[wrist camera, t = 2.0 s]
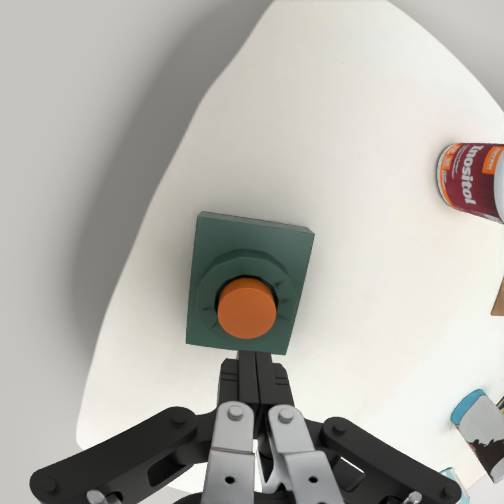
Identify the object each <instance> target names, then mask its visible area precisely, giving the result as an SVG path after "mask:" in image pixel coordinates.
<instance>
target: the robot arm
mask: <svg viewBox="0 0 504 504" xmlns="http://www.w3.org/2000/svg"><path fill="white" fill-rule="evenodd" d="M253 439H258V447H257V450H256V457H257V462H258V468H259V473H260V479H261V484H262V493H260V492H256V491H254V477H255V454H254V453H253ZM341 457H343V458H344V459H346V460H347V461H349V462H350V463H352V464H353V465H355V466H356V467H358V468H360V469H361V470H362V471H363V472H364V473H362V472H361V471H359V470H358V469H356V468H355V467H353V466H351V465H350V464H348V463H347V462H346V461H344V460H343V459H341ZM205 462H208V464H207V470H206V476H205V481H204V487H203V492H199V493H194V494H191V495H188V496H186V497H183V498H181V499H179V500H178V501H176V502H175V503H173V504H456V503H457V502H458V501H459V500H460V499H461V496H462V490H461V487H460V485H459V484H458V483H457V482H456V481H454V480H452V479H450V478H448V477H446V476H444V475H442V474H440V473H438V472H436V471H435V470H433V469H431V468H429V467H427V466H425V465H423V464H421V463H419V462H418V461H416V460H414V459H412V458H410V457H409V456H407V455H405V454H403V453H401V452H400V451H398V450H396V449H395V448H393V447H391V446H389V445H388V444H386V443H384V442H383V441H381V440H379V439H378V438H376V437H374V436H373V435H371V434H370V433H368V432H366V431H365V430H363V429H361V428H360V427H358V426H357V425H355V424H354V423H352V422H351V421H349V420H347V419H345V418H342V417H331V418H328V419H327V420H326V421H325V422H324V423H319V422H315V421H311V420H308V419H305V418H304V417H303V415H302V413H301V412H300V411H299V410H298V409H297V408H295V405H294V401H293V397H292V393H291V388H290V386H289V380H288V376H287V372H286V370H285V368H284V367H283V366H282V365H281V364H280V363H272V358H271V353H270V352H261V351H250V350H241V349H238V352H237V357H236V359H228V358H226V359H225V360H224V362H223V363H222V364H221V369H220V376H219V383H218V393H217V407H216V409H215V410H213V411H212V412H210V413H207V414H202V415H195V414H194V413H193V412H192V411H191V410H189V409H187V408H184V407H178V406H177V407H170V408H167V409H165V410H163V411H161V412H160V413H158V414H156V415H154V416H152V417H151V418H149V419H147V420H145V421H143V422H141V423H139V424H137V425H136V426H134V427H132V428H130V429H128V430H126V431H124V432H122V433H120V434H118V435H116V436H114V437H112V438H110V439H108V440H106V441H104V442H102V443H100V444H97V445H95V446H93V447H91V448H89V449H87V450H85V451H82V452H80V453H78V454H76V455H73V456H71V457H69V458H67V459H64V460H62V461H59V462H57V463H55V464H52V465H49V466H47V467H44V468H42V469H39V470H37V471H36V472H34V473H33V474H32V476H31V478H30V489H31V491H32V493H33V495H34V496H35V497H36V498H37V499H38V500H39V501H40V502H41V504H137V503H139V502H140V501H142V500H144V499H145V498H147V497H148V496H150V495H152V494H153V493H155V492H156V491H158V490H160V489H161V488H163V487H164V486H166V485H167V484H169V483H170V482H172V481H173V480H174V479H176V478H177V477H179V476H180V475H182V474H183V473H184V472H186V471H187V470H189V469H190V468H191V467H192V466H193V465H194V464H198V463H205ZM343 498H344V499H343Z"/></svg>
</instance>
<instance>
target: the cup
mask: <svg viewBox="0 0 504 504" xmlns="http://www.w3.org/2000/svg"><path fill="white" fill-rule="evenodd" d="M451 421H452V422H453V423H454V425H455V426H456V428H457V429H458V431H459V432H460V433H461V435H462V436H463V438H464V439H465V441H466V442H467V443H468V445H469V446H470V448H471V449H472V451H473V452H474V454H475V455H476V457H477V458H478V460H479V461H480V463H481V464H482V466H483V467H484V469H485V470H486V472H487V473H488V475H489V476H490V478H491V480H492V481H493V483H494V484H496V483H498V482H500V481H501V480H503V479H504V415H503V413H502V412H501V411H500V410H499V409H498V408H497V406H496V405H495V404H494V403H493V402H492V401H491V400H490V399H489V397H488V396H487V395H486V394H485V393H484V392H483V391H482V390H476V391H474V392H472V393H470V394H469V395H468V396H467V397H465V398H464V399H463V400H462V401H461V402H460V403H459V404H458V406H457V407H456V408H455V410H454V411H453V413H452V416H451Z"/></svg>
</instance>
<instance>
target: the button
mask: <svg viewBox="0 0 504 504" xmlns="http://www.w3.org/2000/svg"><path fill="white" fill-rule="evenodd" d="M275 318H276V307H275V303H274V299H273V296H272V293H271V291H270V289H269V288H268V287H267V286H266V285H265V284H264V283H263V282H261V281H259V280H257V279H254V278H239V279H236V280H234V281H232V282H230V283H229V284H228V285H226V286H225V288H224V289H223V290H222V292H221V295H220V298H219V305H218V319H219V322H220V324H221V326H222V327H223V329H224V330H225V331H226V332H228V333H229V334H231V335H232V336H235V337H237V338H242V339H251V338H256V337H259V336H261V335H263V334H264V333H266V332H267V331H268V330H269V329H270V328H271V327H272V325H273V323H274V321H275Z"/></svg>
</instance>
